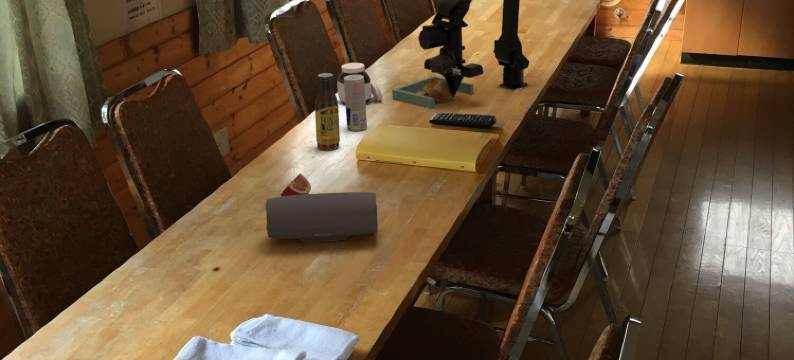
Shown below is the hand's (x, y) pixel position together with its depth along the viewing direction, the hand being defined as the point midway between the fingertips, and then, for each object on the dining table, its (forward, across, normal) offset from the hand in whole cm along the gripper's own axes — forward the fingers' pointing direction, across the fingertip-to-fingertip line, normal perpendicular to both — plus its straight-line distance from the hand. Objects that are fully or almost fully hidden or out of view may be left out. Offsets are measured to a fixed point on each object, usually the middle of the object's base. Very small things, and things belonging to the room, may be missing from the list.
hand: (453, 94), depth 282 cm
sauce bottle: (+2, -1, -50) cm, 50 cm away
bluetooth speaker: (+3, +40, -88) cm, 97 cm away
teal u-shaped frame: (+2, -8, 0) cm, 9 cm away
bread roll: (+2, -6, -1) cm, 6 cm away
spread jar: (+2, -23, -17) cm, 28 cm away
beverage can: (+2, -6, -35) cm, 35 cm away
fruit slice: (+3, +19, -78) cm, 80 cm away
